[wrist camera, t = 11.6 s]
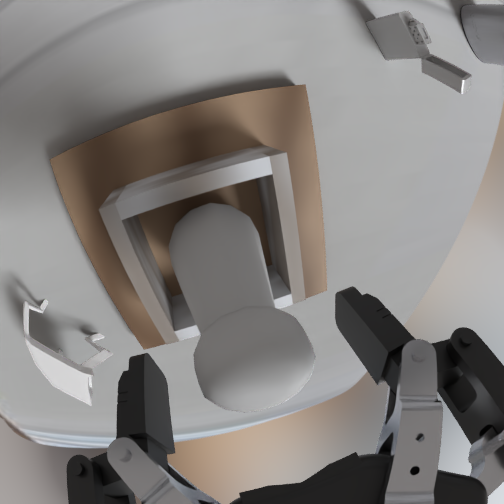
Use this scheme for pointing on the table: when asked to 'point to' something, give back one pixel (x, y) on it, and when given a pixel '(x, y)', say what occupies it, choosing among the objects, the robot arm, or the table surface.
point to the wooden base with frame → (197, 199)
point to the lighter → (415, 48)
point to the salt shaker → (237, 313)
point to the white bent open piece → (64, 362)
